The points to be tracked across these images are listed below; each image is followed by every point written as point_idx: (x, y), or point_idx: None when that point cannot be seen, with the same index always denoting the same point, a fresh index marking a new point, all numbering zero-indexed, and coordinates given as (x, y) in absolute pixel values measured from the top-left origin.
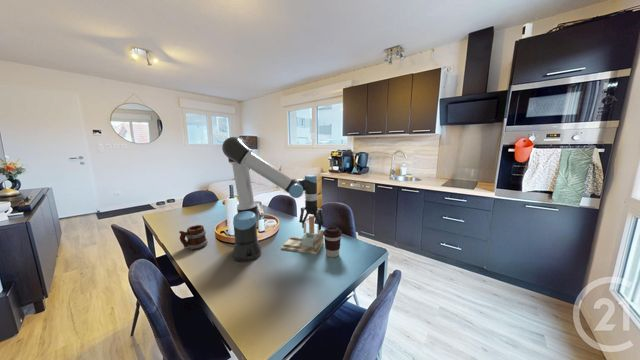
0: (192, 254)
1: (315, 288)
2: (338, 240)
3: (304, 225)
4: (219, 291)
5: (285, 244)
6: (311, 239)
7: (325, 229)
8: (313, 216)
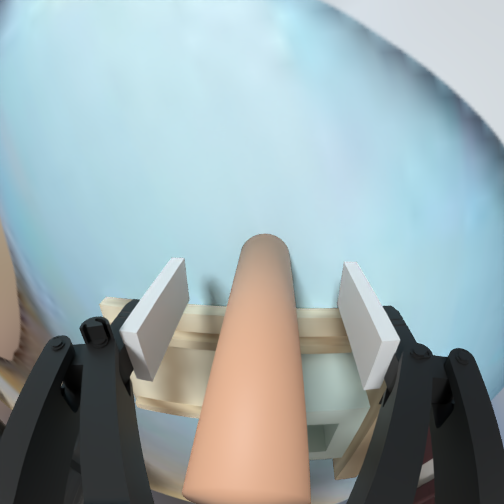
0: (4, 396)
1: (351, 481)
2: None
3: (156, 365)
4: (163, 488)
5: (151, 408)
6: (318, 458)
7: (425, 499)
8: (296, 502)
